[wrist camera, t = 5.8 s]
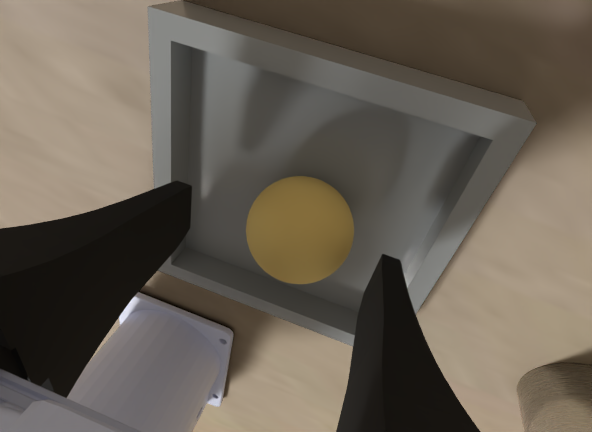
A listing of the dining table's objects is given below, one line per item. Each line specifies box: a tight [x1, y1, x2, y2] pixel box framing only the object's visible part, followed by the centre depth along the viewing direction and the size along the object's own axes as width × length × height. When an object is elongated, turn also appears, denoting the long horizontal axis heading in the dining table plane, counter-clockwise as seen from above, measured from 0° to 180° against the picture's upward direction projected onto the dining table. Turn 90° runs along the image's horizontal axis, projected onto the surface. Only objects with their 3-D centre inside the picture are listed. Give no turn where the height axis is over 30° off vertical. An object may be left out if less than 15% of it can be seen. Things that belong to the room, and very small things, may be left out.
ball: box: [246, 176, 354, 284], centre depth 14 cm, size 4×4×4 cm
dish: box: [148, 0, 537, 346], centre depth 16 cm, size 12×12×2 cm
